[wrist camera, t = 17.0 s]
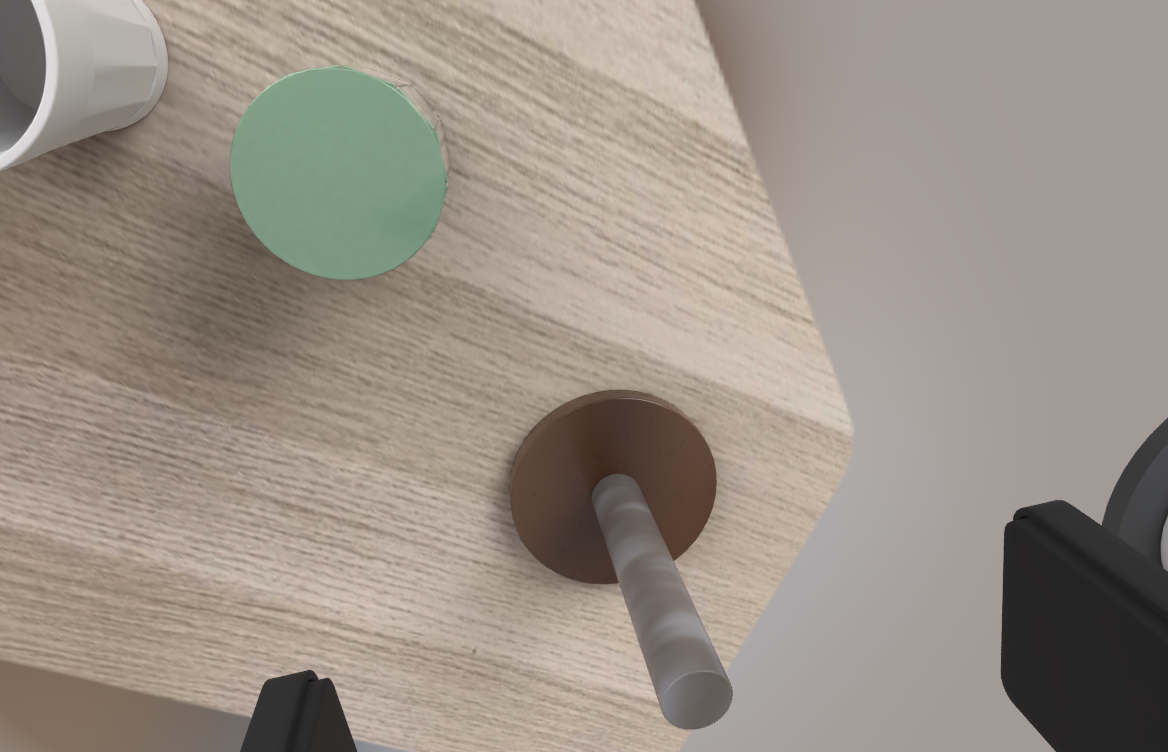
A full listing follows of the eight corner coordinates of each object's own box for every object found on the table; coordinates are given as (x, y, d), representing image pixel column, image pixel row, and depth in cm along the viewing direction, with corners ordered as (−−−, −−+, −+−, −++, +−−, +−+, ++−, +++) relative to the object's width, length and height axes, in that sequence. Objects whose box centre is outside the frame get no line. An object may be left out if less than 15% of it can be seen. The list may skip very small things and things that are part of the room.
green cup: (426, 58, 34) (417, 49, 25) (461, 214, 37) (465, 258, 28) (267, 86, 34) (198, 88, 25) (314, 243, 36) (267, 299, 27)
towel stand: (697, 369, 41) (838, 532, 26) (720, 546, 46) (853, 775, 30) (489, 415, 41) (512, 611, 26) (531, 592, 45) (571, 851, 30)
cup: (229, 43, 33) (117, 25, 22) (119, 191, 34) (-40, 245, 23) (44, -110, 30) (-191, -220, 19) (-69, 57, 32) (-349, 44, 21)
